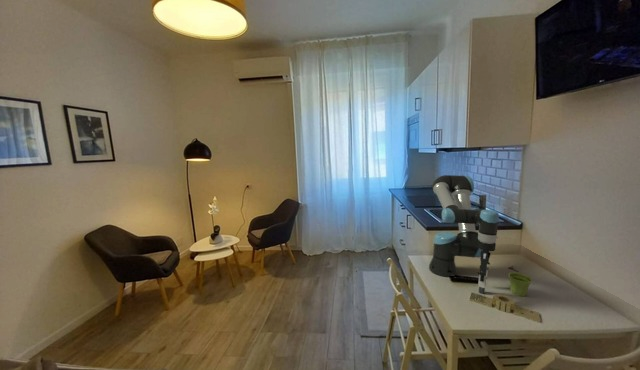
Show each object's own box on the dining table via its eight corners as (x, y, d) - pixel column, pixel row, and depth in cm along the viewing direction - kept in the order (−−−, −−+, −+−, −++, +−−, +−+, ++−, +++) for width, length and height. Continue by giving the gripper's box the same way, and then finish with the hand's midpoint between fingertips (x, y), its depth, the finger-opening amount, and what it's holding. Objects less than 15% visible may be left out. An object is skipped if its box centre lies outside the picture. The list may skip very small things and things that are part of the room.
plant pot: (524, 300, 122) (526, 283, 121) (502, 290, 131) (504, 275, 129) (533, 295, 127) (535, 279, 125) (512, 286, 135) (514, 271, 134)
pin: (476, 292, 129) (479, 267, 127) (477, 289, 132) (480, 264, 130) (485, 295, 126) (488, 269, 124) (486, 292, 129) (488, 266, 127)
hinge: (469, 300, 122) (470, 293, 121) (471, 293, 128) (472, 286, 128) (540, 323, 106) (541, 314, 106) (538, 313, 113) (539, 305, 112)
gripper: (494, 251, 113) (489, 294, 116) (497, 236, 133) (493, 273, 136) (475, 247, 117) (471, 289, 120) (480, 233, 137) (476, 269, 140)
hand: (482, 281), depth 128 cm, fingers open, 13 cm apart
